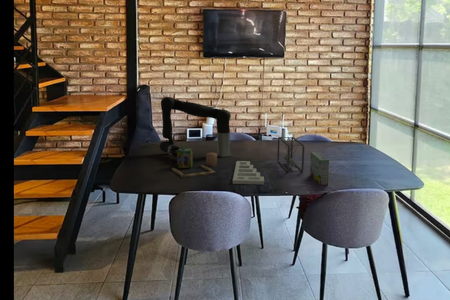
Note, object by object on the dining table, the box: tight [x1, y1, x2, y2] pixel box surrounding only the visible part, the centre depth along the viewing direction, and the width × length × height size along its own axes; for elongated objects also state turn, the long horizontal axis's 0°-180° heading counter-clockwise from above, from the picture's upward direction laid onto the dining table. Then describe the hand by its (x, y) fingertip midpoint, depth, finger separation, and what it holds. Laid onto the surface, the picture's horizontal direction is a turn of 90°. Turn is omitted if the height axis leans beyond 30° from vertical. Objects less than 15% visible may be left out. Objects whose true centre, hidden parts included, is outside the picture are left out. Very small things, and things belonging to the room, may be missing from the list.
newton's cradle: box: [276, 136, 305, 173], centre depth 292 cm, size 30×10×18 cm, turn 6°
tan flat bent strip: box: [171, 164, 217, 179], centre depth 281 cm, size 22×20×1 cm
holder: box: [232, 160, 265, 186], centre depth 277 cm, size 45×18×3 cm, turn 176°
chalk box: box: [176, 144, 194, 169], centre depth 292 cm, size 9×9×15 cm
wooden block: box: [205, 152, 218, 168], centre depth 296 cm, size 7×7×8 cm
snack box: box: [309, 151, 330, 186], centre depth 263 cm, size 21×6×15 cm, turn 5°
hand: (182, 155), depth 297 cm, fingers closed
